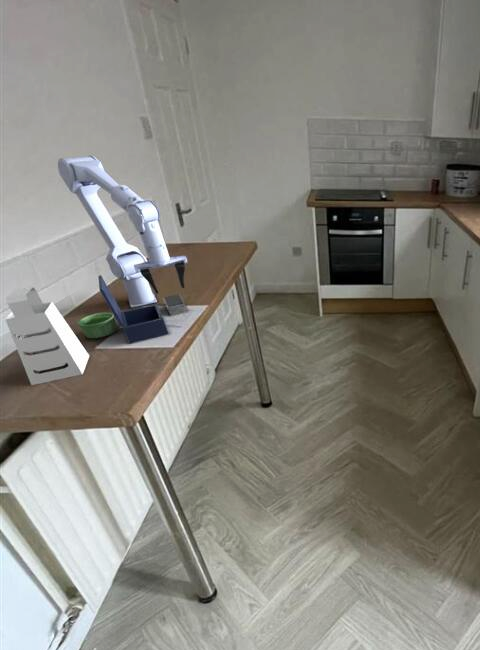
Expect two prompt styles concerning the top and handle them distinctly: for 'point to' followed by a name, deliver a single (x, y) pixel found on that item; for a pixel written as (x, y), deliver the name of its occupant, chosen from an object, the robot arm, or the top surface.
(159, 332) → the dark blue box
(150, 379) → the top surface
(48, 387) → the top surface
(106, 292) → the cover
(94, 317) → the ramekin
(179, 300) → the phone
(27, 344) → the grater
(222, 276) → the top surface
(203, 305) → the top surface
